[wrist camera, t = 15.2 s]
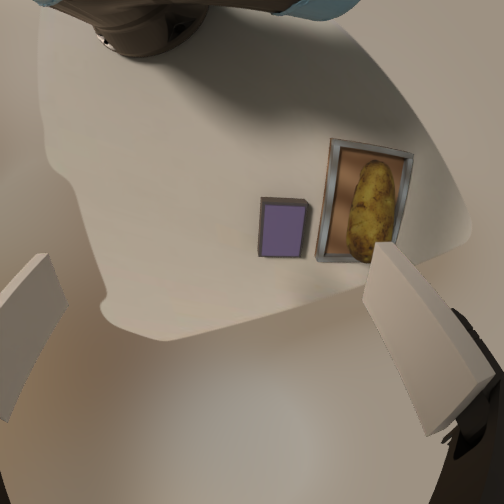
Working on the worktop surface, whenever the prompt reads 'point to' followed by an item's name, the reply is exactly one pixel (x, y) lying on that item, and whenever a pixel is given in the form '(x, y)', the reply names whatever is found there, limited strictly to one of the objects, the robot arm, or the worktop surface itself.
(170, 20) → the robot arm
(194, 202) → the worktop surface
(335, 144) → the metal baking tray
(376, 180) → the potato
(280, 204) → the ink pad
